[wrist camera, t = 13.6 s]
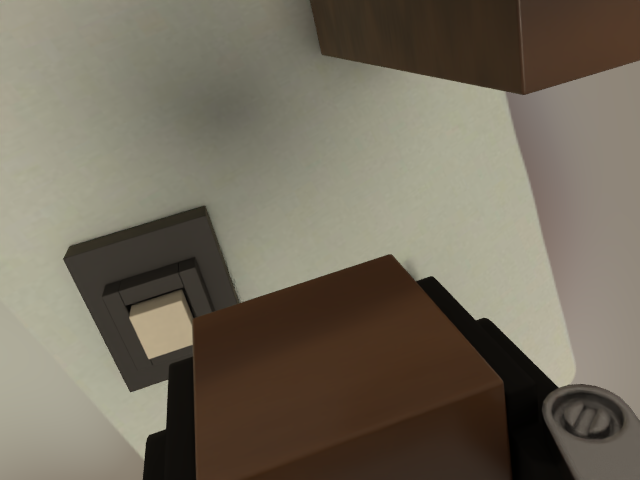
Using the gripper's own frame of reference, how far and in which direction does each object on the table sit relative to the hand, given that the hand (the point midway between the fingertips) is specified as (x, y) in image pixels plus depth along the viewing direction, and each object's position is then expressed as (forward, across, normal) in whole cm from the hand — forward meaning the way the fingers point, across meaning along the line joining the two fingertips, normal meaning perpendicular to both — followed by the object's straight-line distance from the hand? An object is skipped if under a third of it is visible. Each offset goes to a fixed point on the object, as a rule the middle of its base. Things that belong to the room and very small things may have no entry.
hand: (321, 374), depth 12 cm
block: (0, 0, 0) cm, 0 cm away
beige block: (+24, +8, +11) cm, 28 cm away
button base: (+28, +8, +11) cm, 31 cm away
